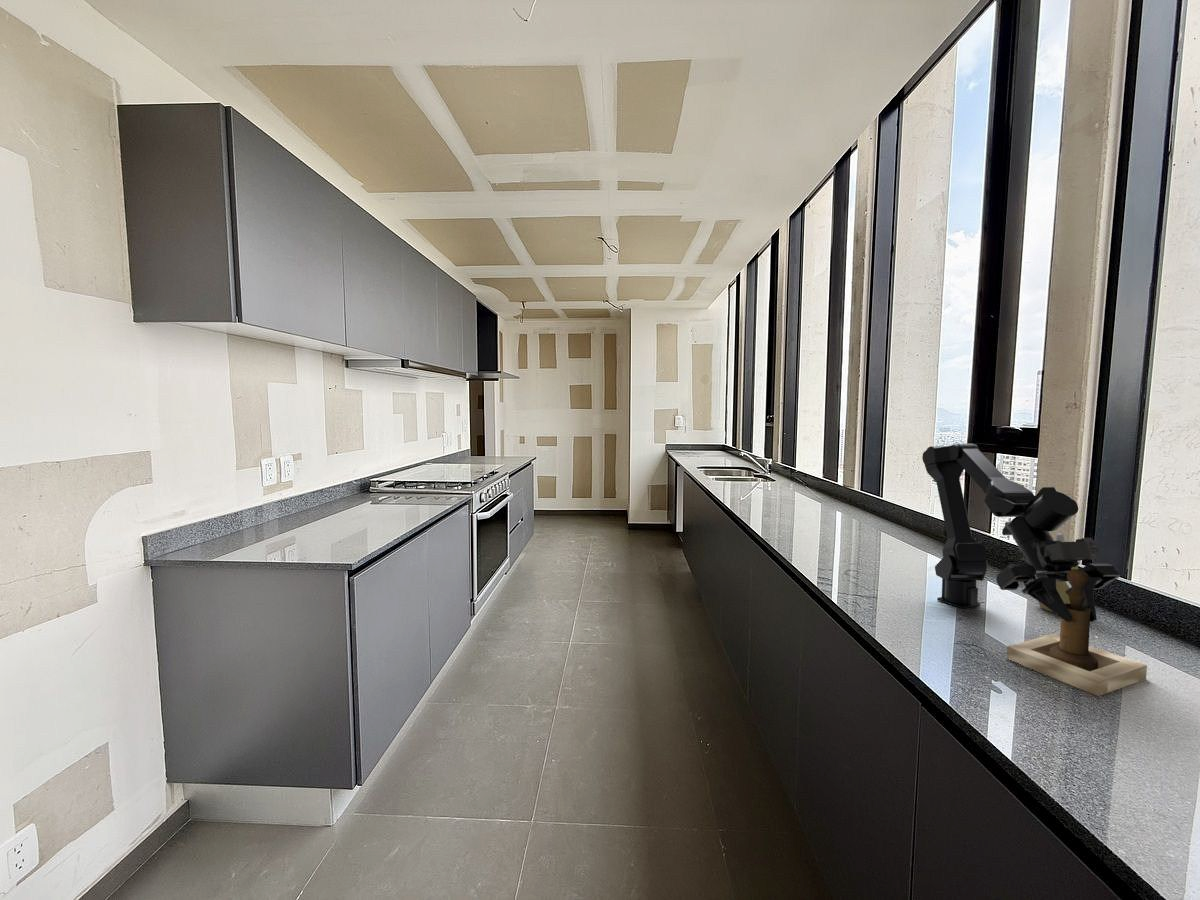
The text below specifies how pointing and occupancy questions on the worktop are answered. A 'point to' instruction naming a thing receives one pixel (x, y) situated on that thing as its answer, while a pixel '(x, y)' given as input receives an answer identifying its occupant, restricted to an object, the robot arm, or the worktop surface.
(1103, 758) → the worktop surface
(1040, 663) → the frame
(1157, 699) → the worktop surface
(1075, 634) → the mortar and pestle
